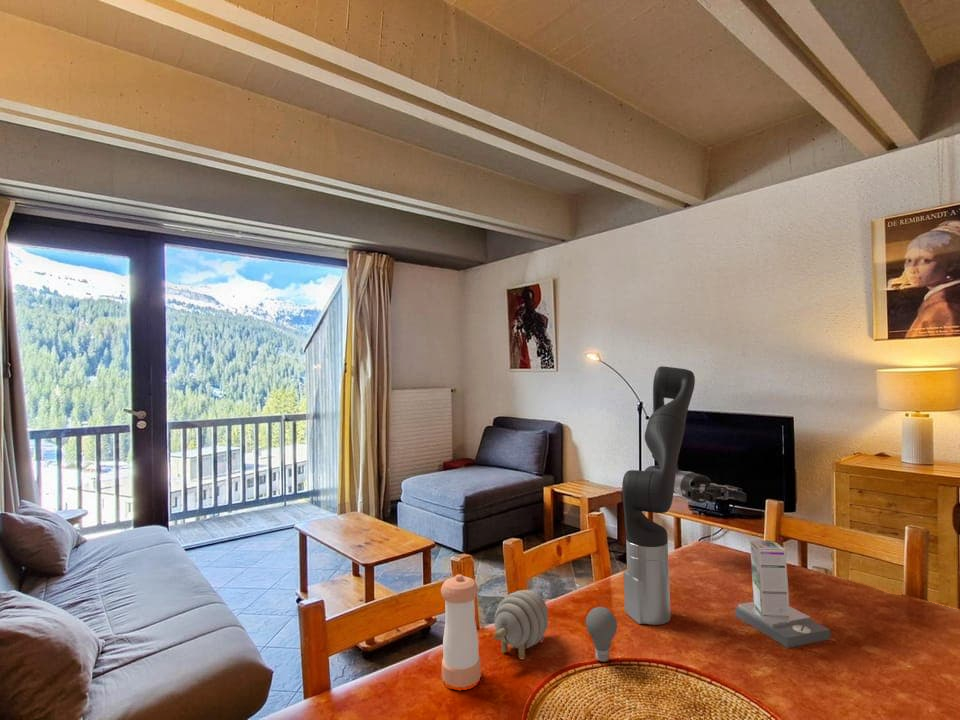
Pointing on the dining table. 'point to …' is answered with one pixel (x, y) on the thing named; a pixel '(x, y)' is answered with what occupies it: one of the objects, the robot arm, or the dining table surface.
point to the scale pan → (775, 620)
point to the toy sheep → (521, 620)
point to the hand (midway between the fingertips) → (729, 498)
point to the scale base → (788, 631)
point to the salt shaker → (460, 633)
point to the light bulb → (601, 630)
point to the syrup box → (769, 578)
